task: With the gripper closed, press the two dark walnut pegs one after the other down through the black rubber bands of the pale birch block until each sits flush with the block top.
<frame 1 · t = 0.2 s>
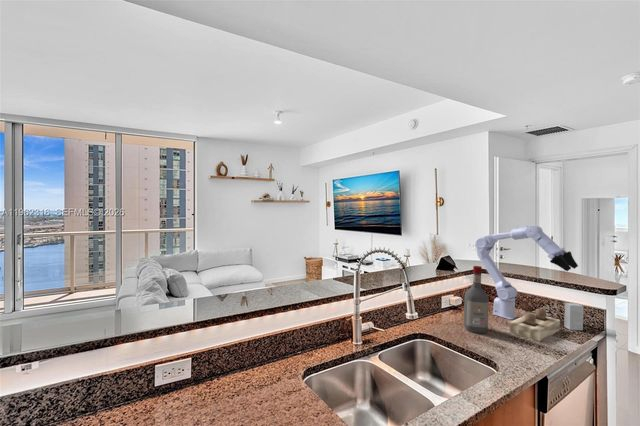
hand: (572, 268, 144), 31 cm above the worktop, tool tilted 45°, fingers open, 7 cm apart
walnut peg b: (530, 320, 144), point 6 cm above the worktop, slide at 0.0 cm
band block: (535, 331, 148), on the worktop
liquor: (475, 329, 149), on the worktop
skincare box: (573, 329, 153), on the worktop
walnut peg a: (540, 315, 151), point 7 cm above the worktop, slide at 0.0 cm
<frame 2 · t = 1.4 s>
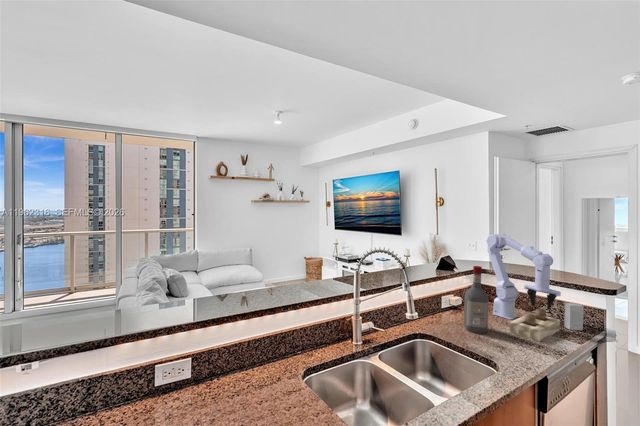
hand: (541, 307, 151), 10 cm above the worktop, tool pointing down, fingers open, 6 cm apart
nothing on the worktop moved.
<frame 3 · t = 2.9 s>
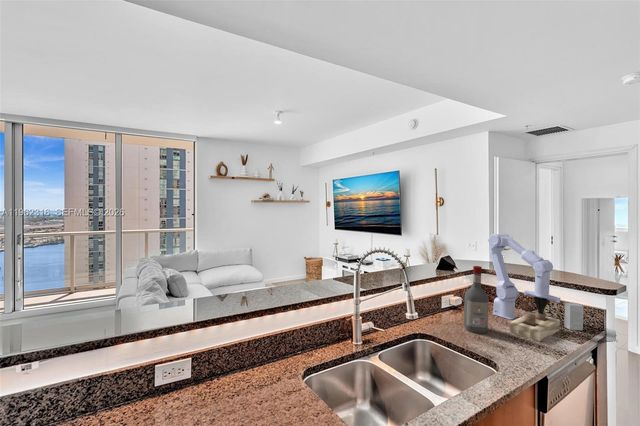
hand: (540, 313, 151), 7 cm above the worktop, tool pointing down, fingers closed, pressing on walnut peg a
walnut peg a: (540, 318, 152), point 5 cm above the worktop, slide at 1.5 cm, touching gripper
everything else where it was.
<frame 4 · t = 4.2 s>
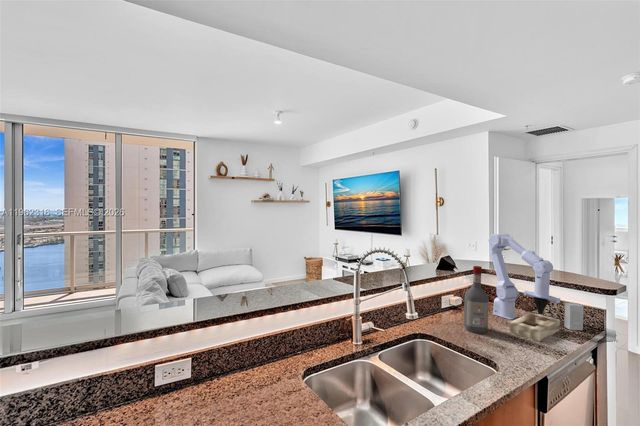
hand: (540, 313, 152), 7 cm above the worktop, tool pointing down, fingers closed
walnut peg a: (540, 323, 152), point 3 cm above the worktop, slide at 3.8 cm
everything else where it was.
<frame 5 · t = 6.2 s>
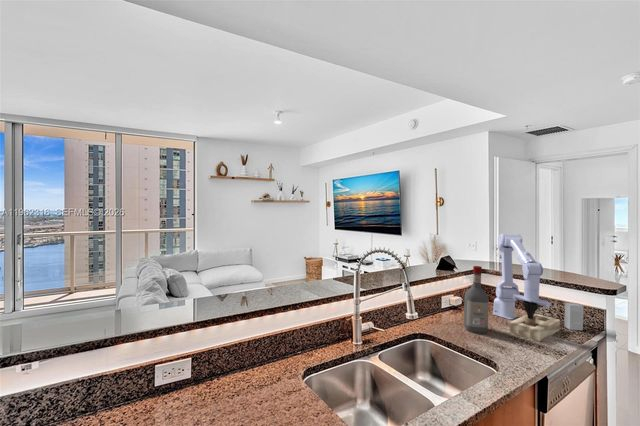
hand: (530, 318, 144), 7 cm above the worktop, tool pointing down, fingers closed, pressing on walnut peg b
walnut peg b: (530, 323, 145), point 5 cm above the worktop, slide at 1.5 cm, touching gripper
everything else where it was.
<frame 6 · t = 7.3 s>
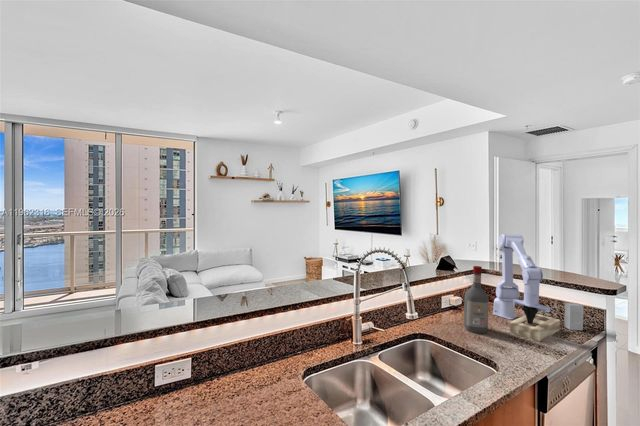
hand: (530, 323, 145), 5 cm above the worktop, tool pointing down, fingers closed
walnut peg b: (529, 328, 145), point 3 cm above the worktop, slide at 3.8 cm
everything else where it was.
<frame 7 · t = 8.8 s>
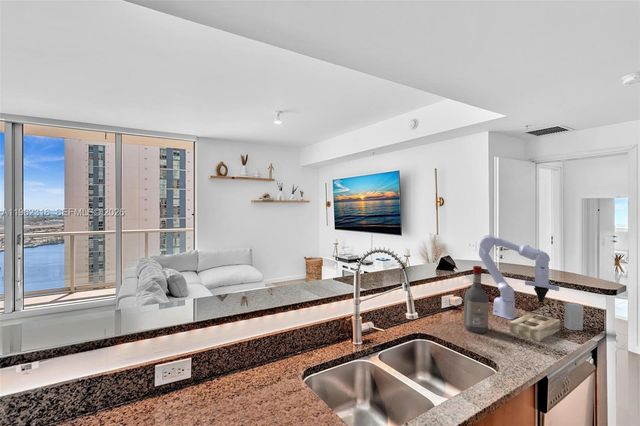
hand: (541, 301, 160), 10 cm above the worktop, tool pointing down, fingers closed
nothing on the worktop moved.
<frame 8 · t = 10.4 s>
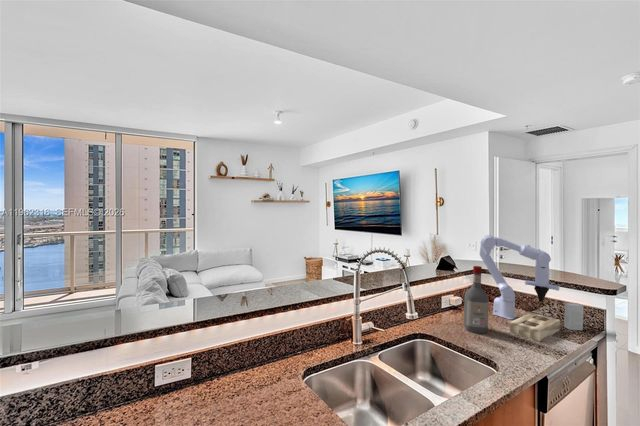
hand: (541, 301, 161), 10 cm above the worktop, tool pointing down, fingers closed
nothing on the worktop moved.
at the end: walnut peg a slide at 3.8 cm; walnut peg b slide at 3.8 cm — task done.
